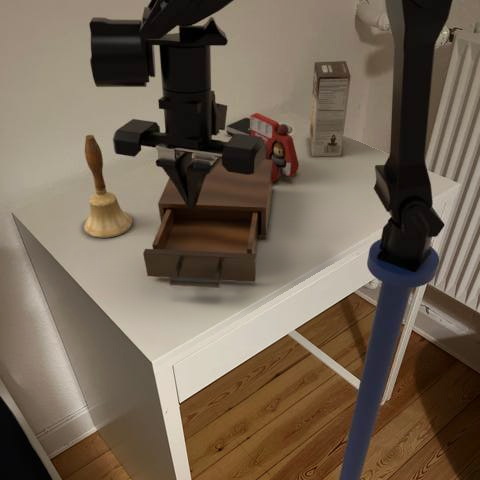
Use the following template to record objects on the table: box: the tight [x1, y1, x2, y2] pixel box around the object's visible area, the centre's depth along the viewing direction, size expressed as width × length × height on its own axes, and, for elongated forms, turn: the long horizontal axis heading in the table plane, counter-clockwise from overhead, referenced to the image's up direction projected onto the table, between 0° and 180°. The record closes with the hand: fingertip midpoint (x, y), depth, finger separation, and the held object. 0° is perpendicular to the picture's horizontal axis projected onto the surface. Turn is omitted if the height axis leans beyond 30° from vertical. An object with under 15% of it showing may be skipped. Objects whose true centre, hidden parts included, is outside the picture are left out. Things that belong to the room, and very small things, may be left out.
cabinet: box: [157, 157, 274, 240], centre depth 89 cm, size 17×18×6 cm
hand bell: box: [83, 134, 133, 239], centre depth 83 cm, size 8×8×16 cm
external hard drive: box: [225, 117, 251, 137], centre depth 113 cm, size 7×11×2 cm, turn 46°
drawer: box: [143, 208, 260, 289], centre depth 78 cm, size 20×16×4 cm
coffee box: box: [309, 60, 352, 157], centre depth 104 cm, size 9×6×16 cm
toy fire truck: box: [249, 112, 300, 183], centre depth 98 cm, size 7×12×10 cm, turn 38°
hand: (191, 207), depth 69 cm, fingers closed
